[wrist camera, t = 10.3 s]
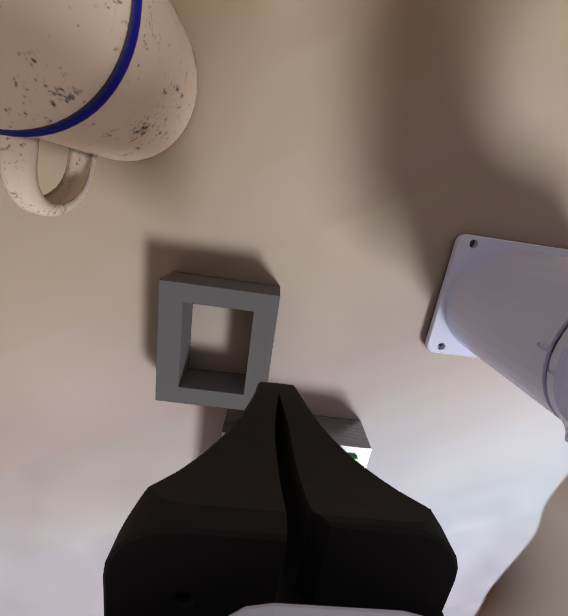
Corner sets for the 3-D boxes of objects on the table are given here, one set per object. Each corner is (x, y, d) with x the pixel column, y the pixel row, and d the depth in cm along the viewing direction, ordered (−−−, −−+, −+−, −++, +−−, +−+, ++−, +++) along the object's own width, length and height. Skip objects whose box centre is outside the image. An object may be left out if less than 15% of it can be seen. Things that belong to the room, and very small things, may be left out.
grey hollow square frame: (279, 286, 21) (280, 296, 19) (264, 391, 24) (263, 412, 21) (172, 271, 21) (159, 279, 18) (168, 380, 23) (155, 400, 21)
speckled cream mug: (39, -57, 16) (-512, -664, 5) (219, 7, 17) (103, -383, 6) (27, 190, 19) (-314, 168, 8) (177, 233, 20) (52, 266, 9)
